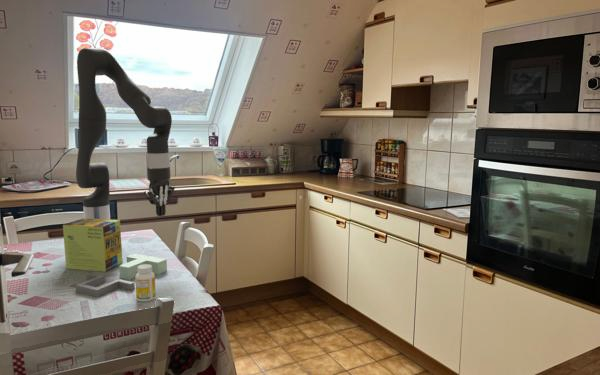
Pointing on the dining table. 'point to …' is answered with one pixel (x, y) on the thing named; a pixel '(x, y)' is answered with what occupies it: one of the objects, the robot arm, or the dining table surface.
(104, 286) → the t dock
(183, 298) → the dining table surface
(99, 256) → the protein box
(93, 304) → the dining table surface
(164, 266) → the t block
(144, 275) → the supplement bottle
